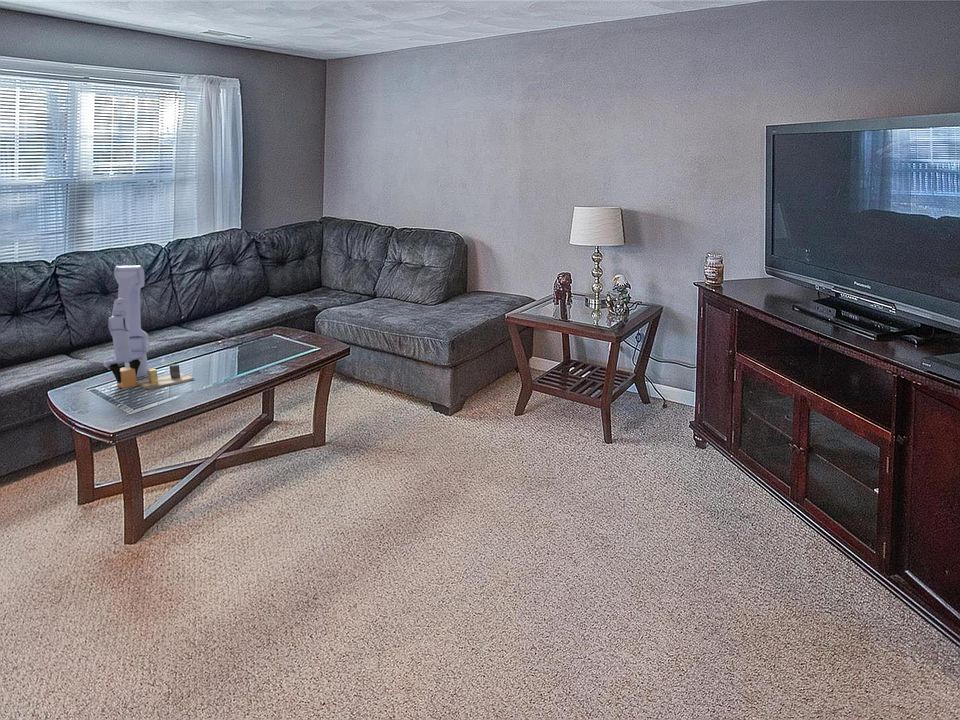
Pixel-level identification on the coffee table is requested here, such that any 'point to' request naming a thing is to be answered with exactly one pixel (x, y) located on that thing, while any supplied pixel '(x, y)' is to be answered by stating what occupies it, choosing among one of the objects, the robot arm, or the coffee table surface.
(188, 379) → the post board
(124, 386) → the orange rectangular block
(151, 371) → the brass post
